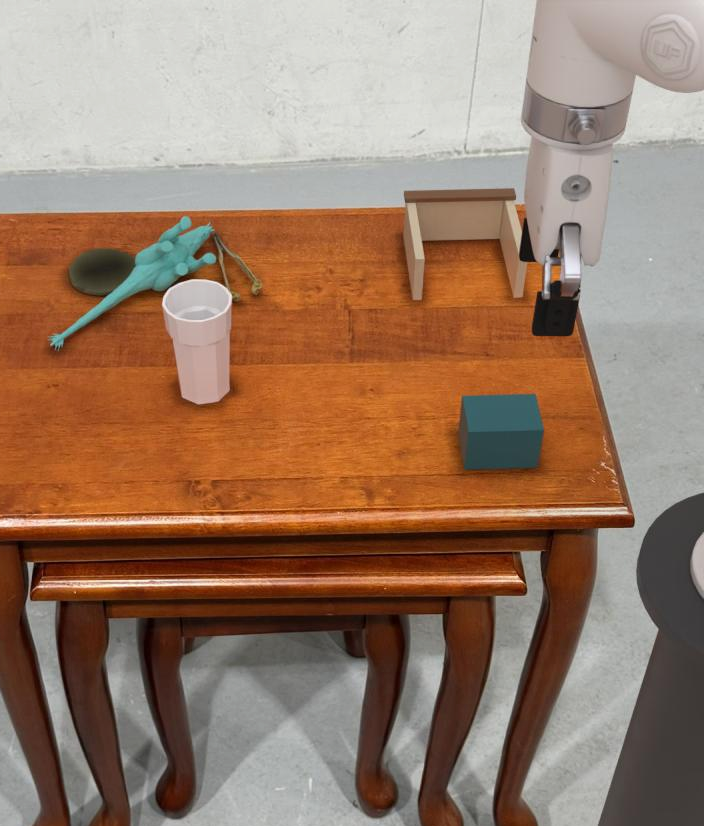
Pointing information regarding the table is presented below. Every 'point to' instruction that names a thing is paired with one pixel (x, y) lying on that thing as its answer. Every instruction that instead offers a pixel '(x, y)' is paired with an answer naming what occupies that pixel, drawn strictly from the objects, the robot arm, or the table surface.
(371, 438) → the table surface
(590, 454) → the table surface
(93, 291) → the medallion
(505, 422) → the box
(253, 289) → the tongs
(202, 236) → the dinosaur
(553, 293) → the robot arm
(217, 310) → the cup
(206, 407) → the table surface
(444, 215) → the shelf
